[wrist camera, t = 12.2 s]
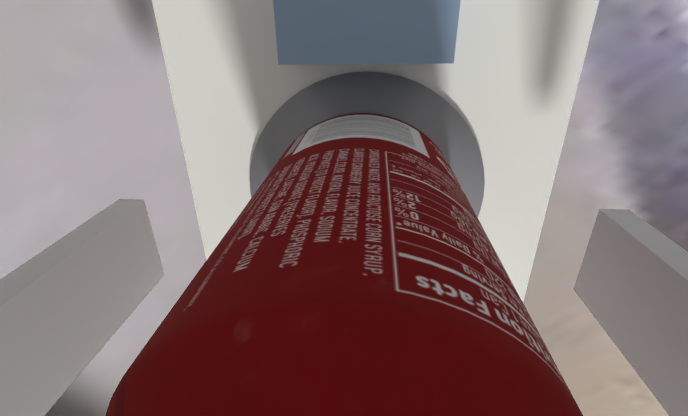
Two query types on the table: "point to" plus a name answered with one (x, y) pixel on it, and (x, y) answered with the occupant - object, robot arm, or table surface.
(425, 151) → the soda can
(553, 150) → the board
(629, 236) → the robot arm
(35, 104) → the table surface
